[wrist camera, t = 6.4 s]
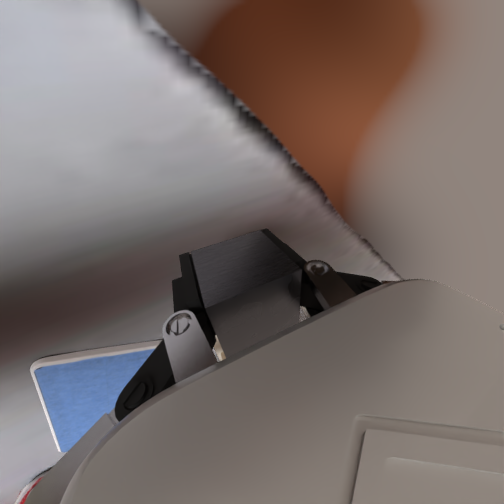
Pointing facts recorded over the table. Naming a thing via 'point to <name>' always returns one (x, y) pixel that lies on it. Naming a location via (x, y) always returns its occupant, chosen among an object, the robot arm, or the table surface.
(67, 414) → the tablet computer
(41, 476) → the soda can
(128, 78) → the table surface
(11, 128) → the table surface
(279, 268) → the shaft
